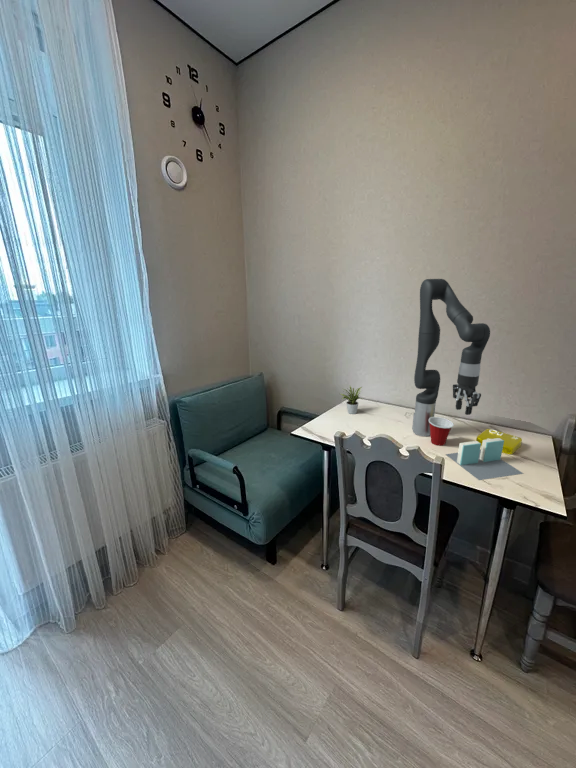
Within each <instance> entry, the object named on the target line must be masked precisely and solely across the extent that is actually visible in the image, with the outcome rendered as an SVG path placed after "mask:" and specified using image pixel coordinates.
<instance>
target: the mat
mask: <svg viewBox="0 0 576 768" xmlns="http://www.w3.org/2000/svg"><path fill="white" fill-rule="evenodd" d="M480 454H481V449H480V453H479V459H478V463H473V464H466V465H460V464H459V463H457V457H458V452H454V453H446V454H445V456H447V457H448V458H450V459H451V460H452V461H453V462H455V463H456V464H457V465H458V466H460V467H461V468H463V469H464V470H465V471H466V472H467V473H469V474H470V475H471V476H473V477H474V478H475V479H476V480H478V481H484V480H492V479H497V478H504V477H509V476H515V475H522V474H524V473H523V471H520V470H519V469H517V468H515V467H514V466H512V465H511V464H510V463H508V462H506V461H505V460H503V459H500V460H494V461H487V462H483V461H482V460H480Z"/></svg>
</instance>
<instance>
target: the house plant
mask: <svg viewBox="0 0 576 768" xmlns="http://www.w3.org/2000/svg"><path fill="white" fill-rule="evenodd" d="M362 388H363V386H361V387H359V388H356V389H355V388H354V387H353V388H352V387H351V386H349V388H347V389H345V388H343V391H345V393H347V394H344V393H340V395H341V396H343V397H341V400H343V399H345V400H347V401H346V409H347V414H348V415H356V414H357V412H358V407H359V402H358V401H357V400H359V399H361V400H363V398H360V394H361V391H362V390H361V389H362Z"/></svg>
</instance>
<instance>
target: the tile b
mask: <svg viewBox="0 0 576 768" xmlns="http://www.w3.org/2000/svg"><path fill="white" fill-rule="evenodd" d="M503 444H504V440H502V439H500V438H495V439H488V440H483V442H482V446H481V447H480V450H481V454H480V460H482V461H483V462H487V461H494V460H500V459H501V458H502V449H503Z"/></svg>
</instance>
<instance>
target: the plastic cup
mask: <svg viewBox="0 0 576 768" xmlns="http://www.w3.org/2000/svg"><path fill="white" fill-rule="evenodd" d="M429 424H430V436H429V437H430V443H431V444H432V445H435V446H439V447H443V446H445V444H446V442H447V439H448V438H449V435H450V432H451V430H452V428H453V427H454V426H455V425H454V423H453V421H451V420H449V419H447V418H444V417H440V416H434V417H431V418H429Z"/></svg>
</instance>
